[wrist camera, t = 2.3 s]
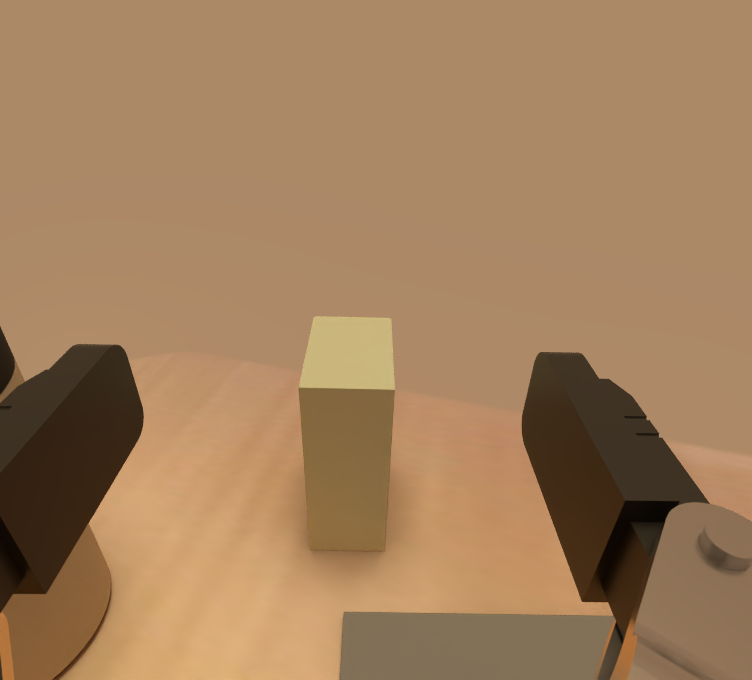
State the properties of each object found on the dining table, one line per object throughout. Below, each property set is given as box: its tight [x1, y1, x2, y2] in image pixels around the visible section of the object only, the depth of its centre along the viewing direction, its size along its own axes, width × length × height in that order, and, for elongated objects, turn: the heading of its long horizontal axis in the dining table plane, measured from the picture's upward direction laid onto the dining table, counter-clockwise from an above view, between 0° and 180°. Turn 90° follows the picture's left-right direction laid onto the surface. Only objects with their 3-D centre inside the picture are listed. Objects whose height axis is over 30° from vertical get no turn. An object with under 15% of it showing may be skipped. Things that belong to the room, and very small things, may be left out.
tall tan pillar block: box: [299, 316, 395, 551], centre depth 26 cm, size 4×6×11 cm, turn 0°
